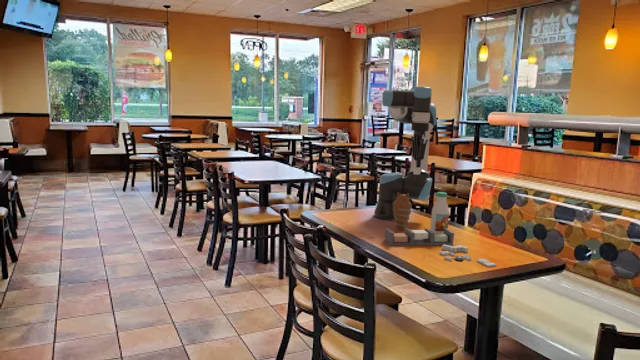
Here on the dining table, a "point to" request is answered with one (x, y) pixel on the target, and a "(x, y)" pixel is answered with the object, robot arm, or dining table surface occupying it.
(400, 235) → the brown flat block
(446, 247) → the white puzzle pieces
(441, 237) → the sage key
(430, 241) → the keypad
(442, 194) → the milk bottle
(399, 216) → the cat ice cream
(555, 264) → the dining table surface
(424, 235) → the cream key
